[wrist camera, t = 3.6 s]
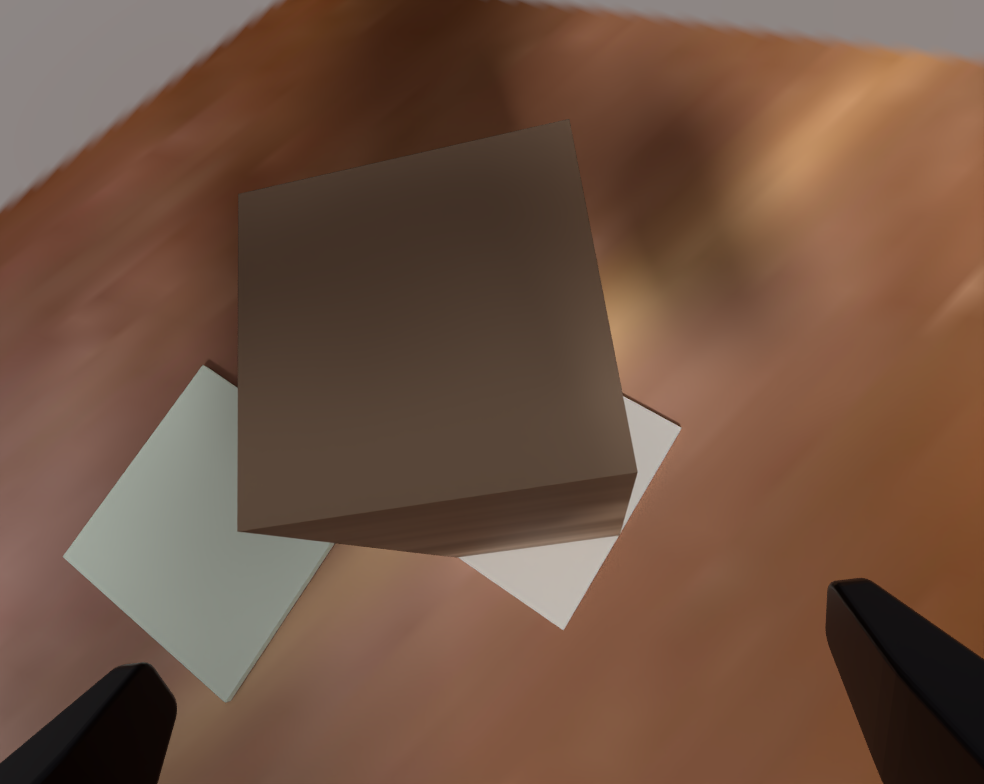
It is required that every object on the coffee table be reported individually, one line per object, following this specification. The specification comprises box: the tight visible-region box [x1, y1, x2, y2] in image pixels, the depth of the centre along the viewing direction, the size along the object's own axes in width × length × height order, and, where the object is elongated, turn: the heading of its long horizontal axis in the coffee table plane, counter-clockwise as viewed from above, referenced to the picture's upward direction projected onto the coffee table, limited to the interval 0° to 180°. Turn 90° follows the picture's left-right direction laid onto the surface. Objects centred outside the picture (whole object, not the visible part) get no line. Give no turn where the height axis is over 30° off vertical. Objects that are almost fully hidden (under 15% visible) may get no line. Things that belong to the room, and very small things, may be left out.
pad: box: [63, 365, 335, 703], centre depth 21 cm, size 8×8×1 cm
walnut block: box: [237, 119, 638, 558], centre depth 14 cm, size 5×5×12 cm
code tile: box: [458, 396, 681, 630], centre depth 20 cm, size 7×7×1 cm
